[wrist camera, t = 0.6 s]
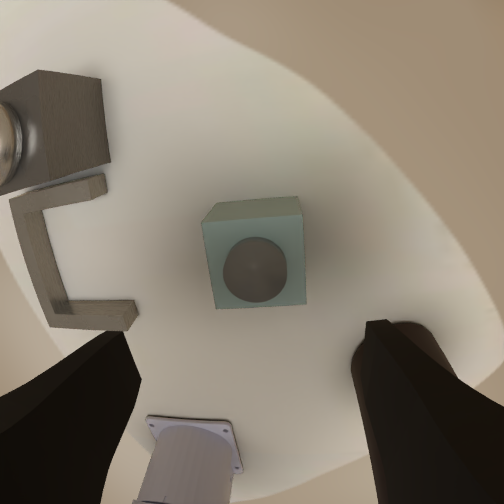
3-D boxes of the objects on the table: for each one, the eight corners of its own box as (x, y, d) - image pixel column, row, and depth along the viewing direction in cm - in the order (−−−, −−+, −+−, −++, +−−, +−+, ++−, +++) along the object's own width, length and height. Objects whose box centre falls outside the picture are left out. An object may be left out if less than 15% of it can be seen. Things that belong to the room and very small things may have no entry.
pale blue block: (301, 269, 19) (307, 315, 15) (227, 274, 20) (212, 320, 15) (296, 196, 18) (304, 221, 13) (216, 202, 18) (195, 229, 13)
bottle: (331, 361, 22) (362, 649, 3) (406, 302, 19) (532, 594, 1) (380, 400, 23) (425, 623, 4) (446, 351, 21) (542, 571, 2)
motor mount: (145, 315, 21) (104, 383, 15) (62, 313, 22) (14, 366, 16) (100, 79, 15) (23, 68, 9) (15, 114, 16) (-59, 124, 10)
